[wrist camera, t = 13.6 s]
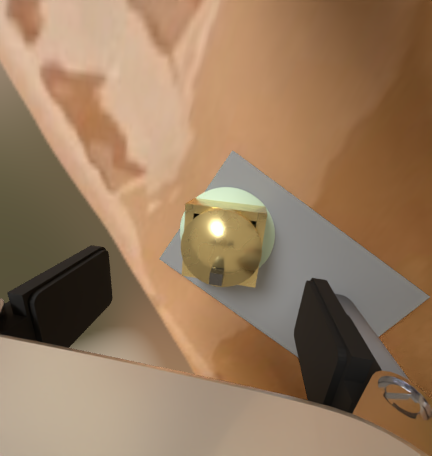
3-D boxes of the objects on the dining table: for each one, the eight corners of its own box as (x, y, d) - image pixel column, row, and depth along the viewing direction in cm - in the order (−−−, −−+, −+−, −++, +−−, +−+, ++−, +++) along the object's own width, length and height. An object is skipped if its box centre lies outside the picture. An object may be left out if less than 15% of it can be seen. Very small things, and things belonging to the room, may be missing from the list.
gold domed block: (194, 198, 20) (178, 207, 16) (265, 206, 20) (269, 219, 15) (190, 261, 22) (174, 286, 18) (254, 271, 21) (255, 300, 17)
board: (159, 251, 24) (108, 300, 16) (229, 147, 20) (211, 135, 12) (322, 367, 25) (360, 475, 16) (420, 289, 21) (540, 378, 12)
